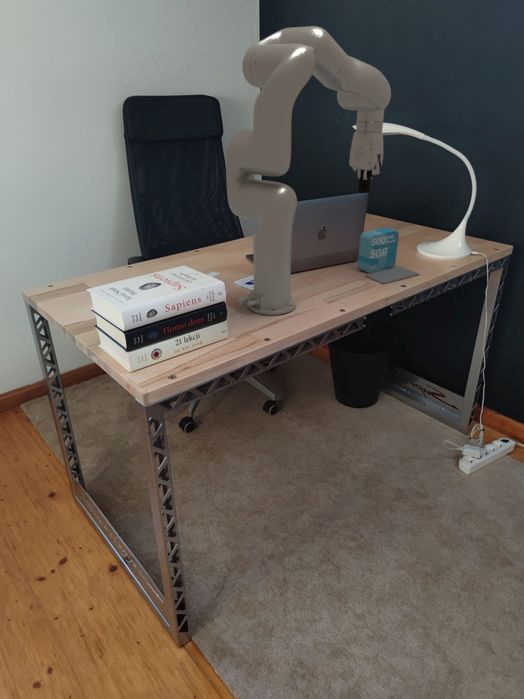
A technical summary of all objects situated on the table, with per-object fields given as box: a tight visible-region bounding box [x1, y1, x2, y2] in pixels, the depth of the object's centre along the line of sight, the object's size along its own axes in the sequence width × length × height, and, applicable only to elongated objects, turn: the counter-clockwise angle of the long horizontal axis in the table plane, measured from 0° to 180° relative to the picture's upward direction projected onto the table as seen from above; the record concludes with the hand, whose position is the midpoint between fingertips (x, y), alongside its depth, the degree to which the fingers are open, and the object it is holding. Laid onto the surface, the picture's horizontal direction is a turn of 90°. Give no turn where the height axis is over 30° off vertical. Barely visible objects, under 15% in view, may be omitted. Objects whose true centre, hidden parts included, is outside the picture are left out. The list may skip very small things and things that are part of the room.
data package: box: [357, 227, 400, 274], centre depth 157 cm, size 12×4×12 cm, turn 122°
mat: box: [364, 266, 420, 286], centre depth 154 cm, size 15×8×1 cm, turn 122°
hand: (363, 192), depth 156 cm, fingers closed
